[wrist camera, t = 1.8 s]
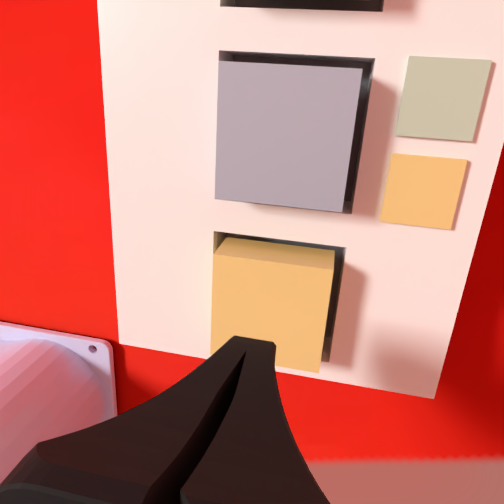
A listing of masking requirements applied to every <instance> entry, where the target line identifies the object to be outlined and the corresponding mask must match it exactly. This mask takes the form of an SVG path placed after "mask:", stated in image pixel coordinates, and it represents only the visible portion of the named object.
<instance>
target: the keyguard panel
mask: <svg viewBox="0 0 504 504" xmlns="http://www.w3.org/2000/svg"><path fill="white" fill-rule="evenodd" d="M97 4H98V19H99V35H100V50H101V66H102V81H103V97H104V112H105V128H106V144H107V159H108V175H109V190H110V206H111V221H112V237H113V252H114V268H115V283H116V299H117V314H118V330H119V344H125V345H131V346H136V347H142V348H148V349H153V350H159V351H165V352H170V353H176V354H182V355H187V356H193V357H199V358H204V359H208V358H209V357H210V356H211V354H210V344H211V309H212V274H213V253H214V252H215V251H216V250H217V249H218V247H219V246H220V245H221V244H222V242H223V241H224V240H225V239H226V237H231V238H239V239H247V240H255V241H263V242H271V243H279V244H286V245H294V246H302V247H310V248H318V249H326V250H334V251H335V256H334V272H333V279H332V286H331V293H330V300H329V307H328V314H327V320H326V327H325V334H324V341H323V348H322V355H321V362H320V369H319V373H314V372H308V371H302V370H296V369H291V368H285V367H279V366H275V371H278V372H284V373H289V374H295V375H301V376H306V377H312V378H318V379H323V380H329V381H335V382H340V383H346V384H352V385H357V386H363V387H369V388H374V389H380V390H386V391H391V392H397V393H403V394H408V395H414V396H420V397H425V398H431V399H434V397H435V393H436V389H437V386H438V382H439V378H440V375H441V371H442V367H443V364H444V360H445V356H446V353H447V349H448V345H449V342H450V338H451V334H452V331H453V327H454V323H455V320H456V316H457V312H458V309H459V305H460V301H461V298H462V294H463V290H464V286H465V283H466V279H467V275H468V272H469V268H470V264H471V261H472V257H473V253H474V250H475V246H476V242H477V239H478V235H479V231H480V228H481V224H482V220H483V217H484V213H485V209H486V206H487V202H488V198H489V195H490V191H491V187H492V184H493V180H494V176H495V172H496V169H497V165H498V161H499V158H500V154H501V150H502V147H503V143H504V0H370V1H365V0H97ZM219 61H232V62H250V63H268V64H286V65H304V66H322V67H340V68H359V69H363V70H362V77H361V84H360V91H359V98H358V105H357V112H356V118H355V125H354V132H353V139H352V146H351V153H350V160H349V167H348V174H347V181H346V188H345V195H344V202H343V209H342V212H333V211H324V210H315V209H306V208H297V207H288V206H279V205H270V204H261V203H252V202H243V201H233V200H224V199H215V169H216V134H217V99H218V64H219Z"/></svg>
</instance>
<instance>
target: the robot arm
mask: <svg viewBox="0 0 504 504" xmlns="http://www.w3.org/2000/svg"><path fill="white" fill-rule="evenodd" d="M93 346H95V347H96V348H97V349H95V348H94V347H93ZM275 356H276V345H275V343H274V342H271V341H265V340H259V339H253V338H247V337H241V336H235V335H234V336H233V337H231V338H230V339H229V340H228V341H227V342H226V343H225V344H224V345H223V346H222V347H220V348H219V349H218V350H217V351H216V352H215V353H214V354H213V355H211V356H210V357H209V358H208V359H207V360H206V361H204V362H203V363H202V364H201V365H200V366H198V367H197V368H196V369H195V370H193V371H192V372H191V373H189V374H188V375H187V376H185V377H184V378H183V379H181V380H180V381H178V382H177V383H176V384H174V385H173V386H171V387H170V388H168V389H167V390H165V391H164V392H162V393H161V394H159V395H157V396H155V397H154V398H152V399H150V400H148V401H147V402H145V403H143V404H141V405H139V406H136V407H134V408H132V409H130V410H128V411H126V412H124V413H122V414H120V415H118V416H117V402H116V388H115V374H114V360H113V348H112V345H111V344H110V343H109V342H108V341H106V340H103V339H97V338H92V337H86V336H80V335H74V334H69V333H63V332H57V331H52V330H46V329H40V328H35V327H29V326H23V325H18V324H12V323H6V322H1V321H0V504H330V502H329V501H328V500H327V498H326V496H325V495H324V493H323V492H322V491H321V489H320V487H319V486H318V484H317V482H316V481H315V479H314V477H313V475H312V474H311V472H310V470H309V468H308V466H307V464H306V462H305V460H304V458H303V456H302V454H301V452H300V450H299V448H298V446H297V444H296V442H295V440H294V437H293V435H292V432H291V430H290V427H289V424H288V422H287V419H286V416H285V413H284V409H283V406H282V402H281V398H280V394H279V390H278V385H277V379H276V373H275Z"/></svg>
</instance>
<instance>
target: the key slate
mask: <svg viewBox="0 0 504 504" xmlns="http://www.w3.org/2000/svg"><path fill="white" fill-rule="evenodd" d="M362 70H363V69H359V68H340V67H322V66H304V65H286V64H268V63H250V62H232V61H219V64H218V99H217V134H216V169H215V199H224V200H233V201H243V202H252V203H261V204H270V205H279V206H288V207H297V208H306V209H315V210H324V211H333V212H342V209H343V202H344V195H345V188H346V181H347V174H348V167H349V160H350V153H351V146H352V139H353V132H354V125H355V118H356V112H357V105H358V98H359V91H360V84H361V77H362Z"/></svg>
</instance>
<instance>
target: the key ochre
mask: <svg viewBox="0 0 504 504" xmlns="http://www.w3.org/2000/svg"><path fill="white" fill-rule="evenodd" d="M334 256H335V251H334V250H326V249H318V248H310V247H302V246H294V245H286V244H279V243H271V242H263V241H255V240H247V239H239V238H231V237H226V239H225V240H224V241H223V242H222V244H221V245H220V246H219V247H218V249H217V250H216V251H215V252H214V253H213V274H212V309H211V344H210V354H211V355H213V354H214V353H215V352H216V351H217V350H218V349H219V348H220V347H222V346H223V345H224V344H225V343H226V342H227V341H228V340H229V339H230V338H231V337H233V336H234V335H235V336H241V337H247V338H253V339H259V340H265V341H271V342H274V343H275V345H276V356H275V366H279V367H285V368H291V369H296V370H302V371H308V372H314V373H319V369H320V362H321V355H322V348H323V341H324V334H325V327H326V320H327V314H328V307H329V300H330V293H331V286H332V279H333V272H334Z"/></svg>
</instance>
